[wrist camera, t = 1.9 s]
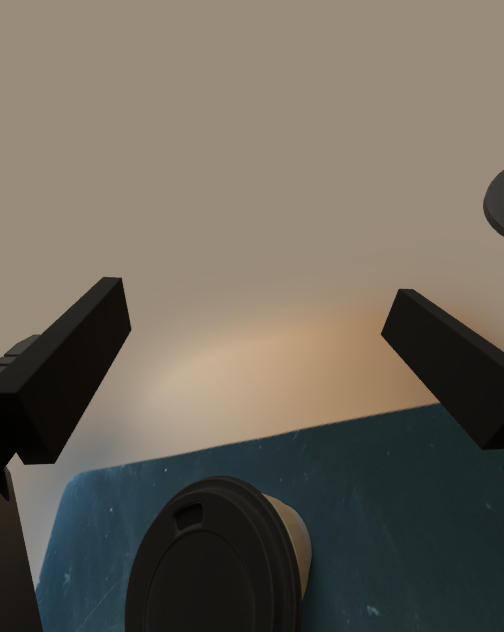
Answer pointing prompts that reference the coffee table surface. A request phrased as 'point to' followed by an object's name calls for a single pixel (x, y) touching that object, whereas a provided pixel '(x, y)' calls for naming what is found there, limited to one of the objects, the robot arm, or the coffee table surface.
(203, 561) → the coffee cup
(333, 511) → the coffee table surface
